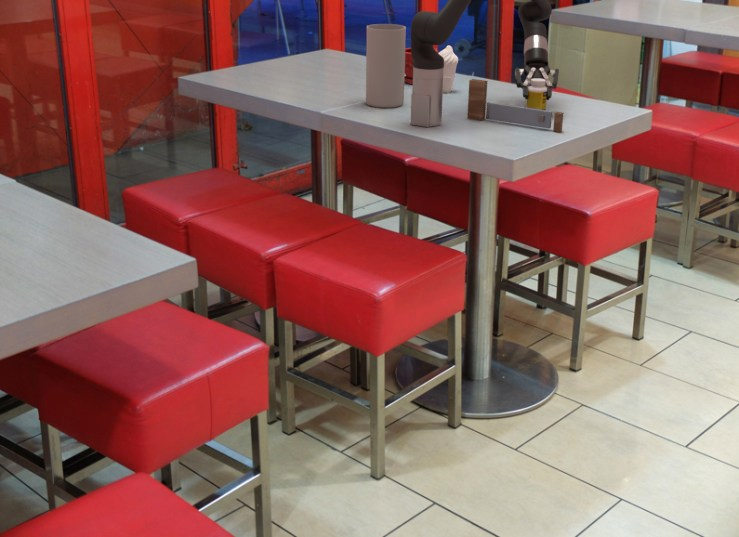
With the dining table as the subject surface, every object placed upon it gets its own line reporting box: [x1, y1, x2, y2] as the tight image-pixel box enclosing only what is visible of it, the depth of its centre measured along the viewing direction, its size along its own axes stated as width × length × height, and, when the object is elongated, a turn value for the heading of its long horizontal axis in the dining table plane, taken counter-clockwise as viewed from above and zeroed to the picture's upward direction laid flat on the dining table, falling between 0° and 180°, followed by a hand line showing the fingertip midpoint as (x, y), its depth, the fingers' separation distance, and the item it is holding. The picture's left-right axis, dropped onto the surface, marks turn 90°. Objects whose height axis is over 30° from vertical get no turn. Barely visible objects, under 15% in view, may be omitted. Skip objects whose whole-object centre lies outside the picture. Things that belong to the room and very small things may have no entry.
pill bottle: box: [525, 78, 548, 111], centre depth 312 cm, size 6×6×11 cm
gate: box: [485, 101, 553, 129], centre depth 302 cm, size 2×21×5 cm, turn 58°
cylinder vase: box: [365, 23, 407, 109], centre depth 323 cm, size 12×12×25 cm
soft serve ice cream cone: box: [438, 45, 459, 94], centre depth 344 cm, size 8×8×16 cm
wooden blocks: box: [466, 78, 564, 133], centre depth 302 cm, size 2×30×12 cm, turn 58°
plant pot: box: [404, 47, 439, 85], centre depth 358 cm, size 13×13×12 cm
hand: (537, 98), depth 311 cm, fingers closed on pill bottle, 6 cm apart
